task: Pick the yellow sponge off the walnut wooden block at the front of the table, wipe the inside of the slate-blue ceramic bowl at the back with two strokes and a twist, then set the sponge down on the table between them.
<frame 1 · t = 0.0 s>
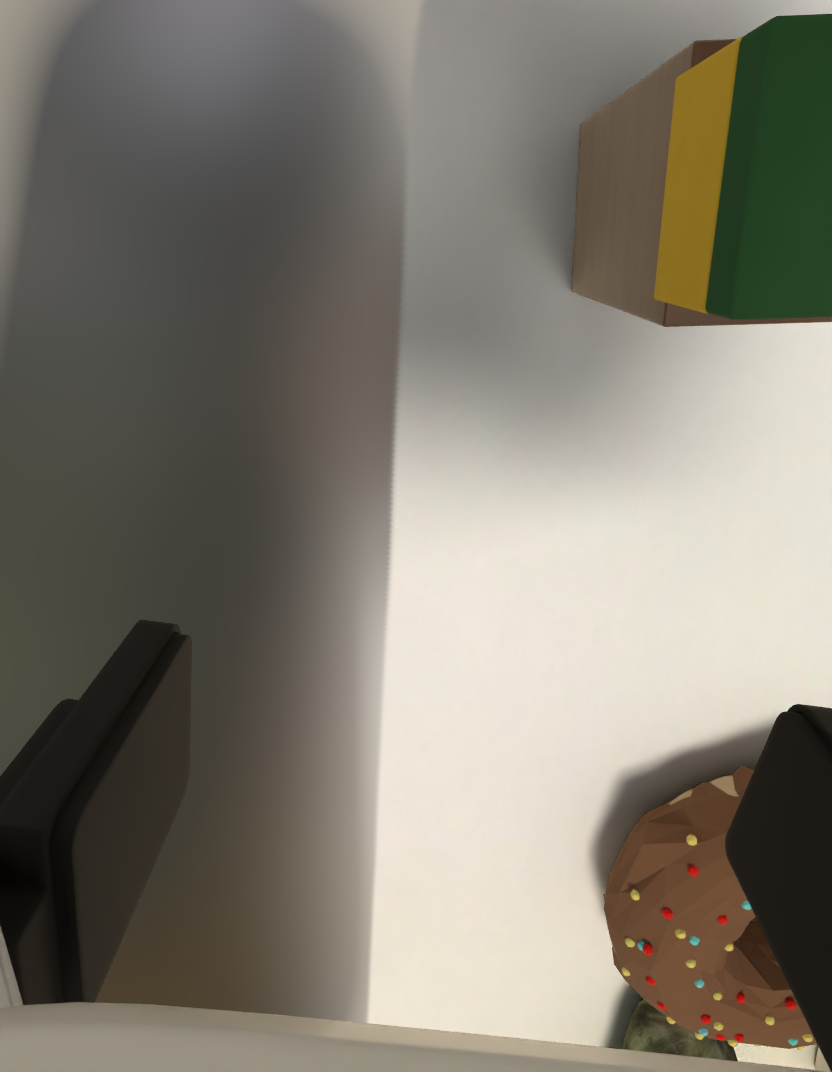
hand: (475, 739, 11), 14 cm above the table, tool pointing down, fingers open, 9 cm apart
donut: (741, 852, 31), on the table
vegetable: (649, 1048, 36), on the table
wooden block: (669, 208, 20), on the table
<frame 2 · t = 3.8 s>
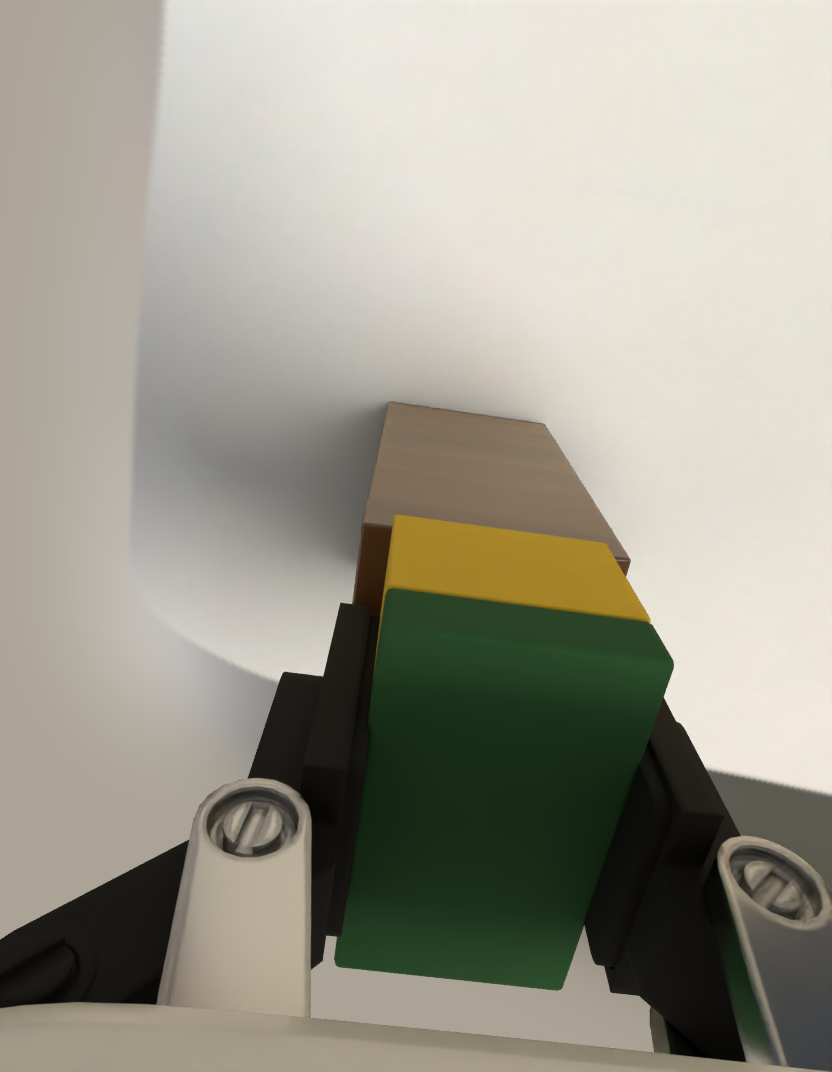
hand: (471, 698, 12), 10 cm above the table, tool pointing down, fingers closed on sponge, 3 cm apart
sponge: (469, 679, 12), point 9 cm above the table, touching gripper, wooden block
wooden block: (451, 502, 21), on the table
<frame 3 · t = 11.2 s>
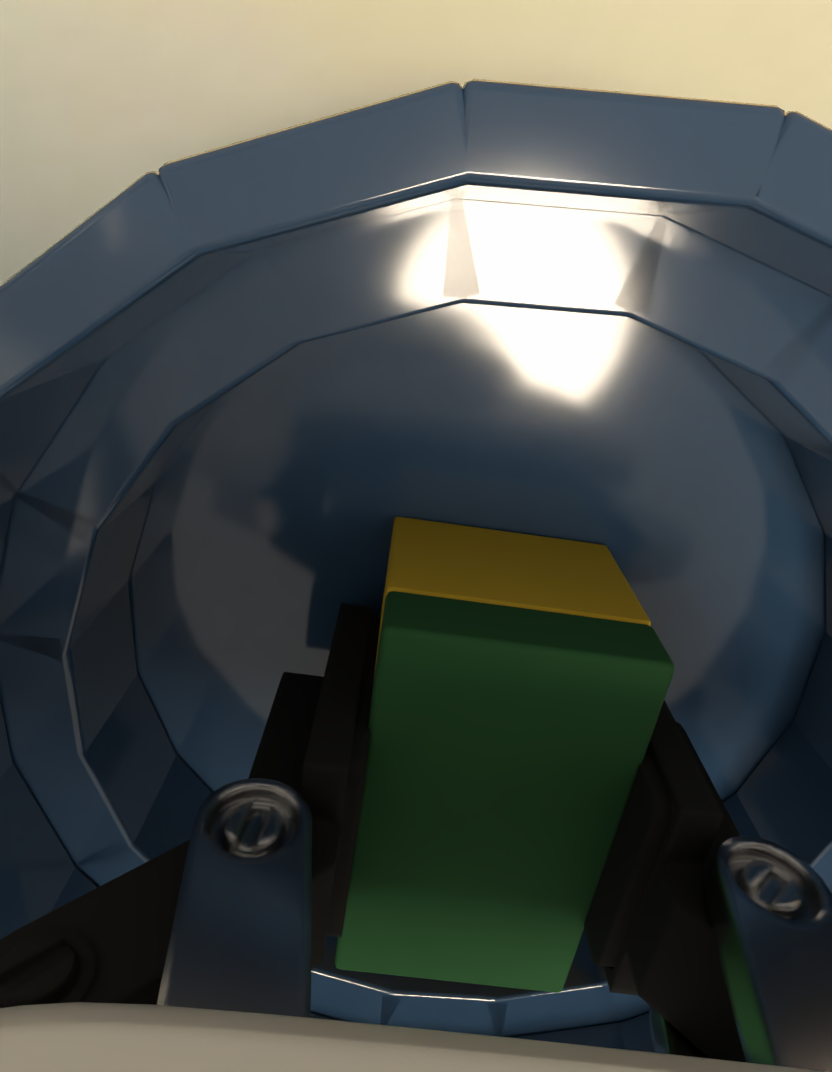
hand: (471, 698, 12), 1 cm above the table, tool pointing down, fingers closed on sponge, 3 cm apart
sponge: (469, 681, 12), point 1 cm above the table, touching gripper
bowl: (472, 633, 13), on the table
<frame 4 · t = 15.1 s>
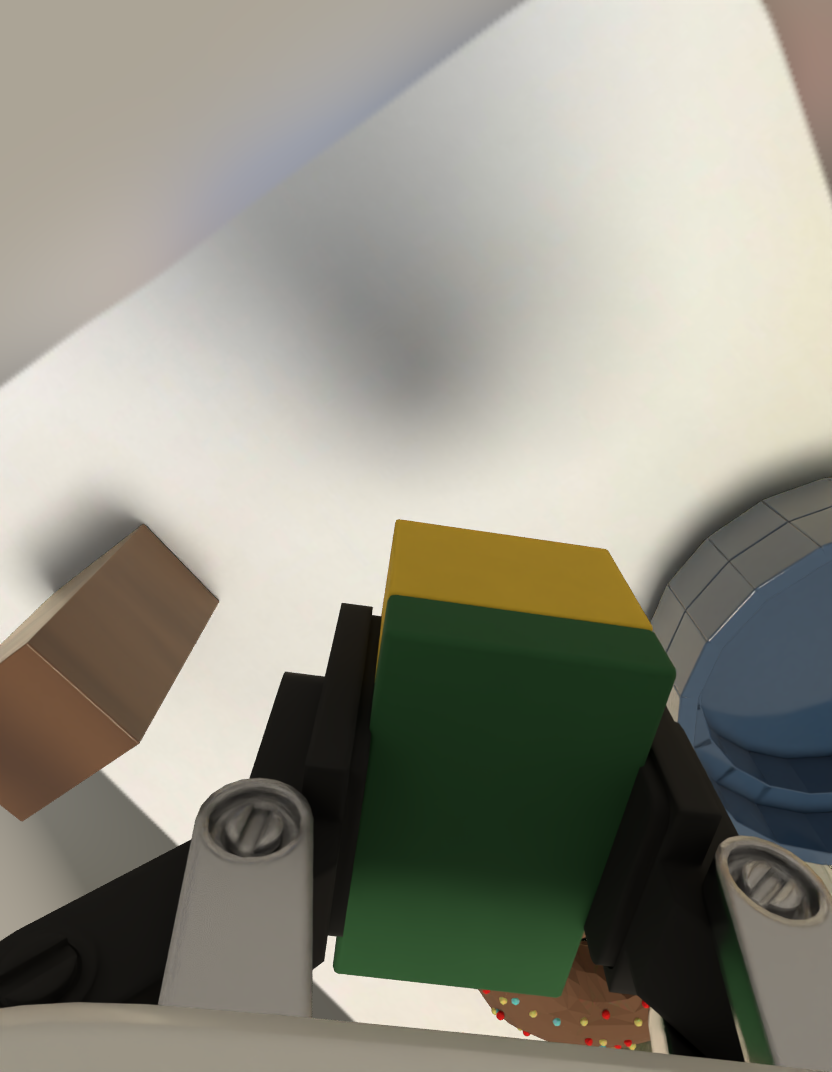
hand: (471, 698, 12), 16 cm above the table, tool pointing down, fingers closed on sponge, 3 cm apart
sponge: (469, 685, 12), point 16 cm above the table, touching gripper
donut: (580, 887, 36), on the table
bowl: (819, 639, 30), on the table
wooden block: (136, 597, 29), on the table
cosmetics box: (810, 929, 37), on the table
when the fingers open (0 cm above the table, at t = 18.4 s): sponge stays where it is, on the table.
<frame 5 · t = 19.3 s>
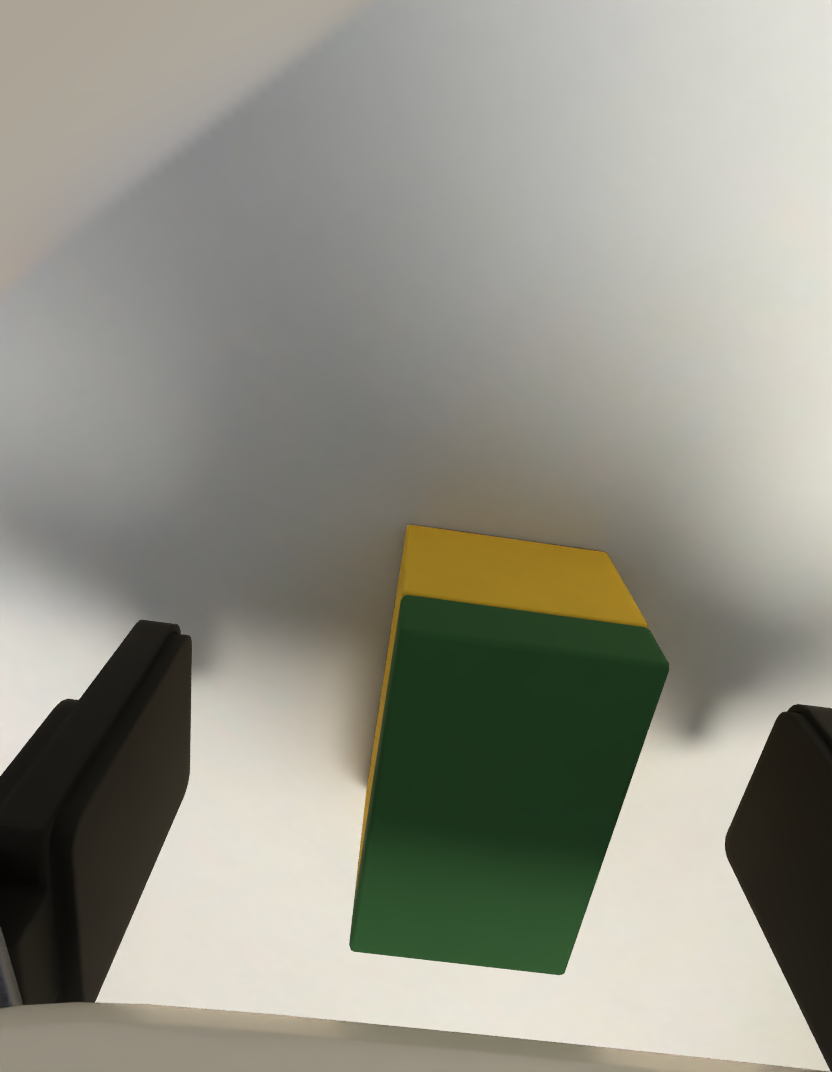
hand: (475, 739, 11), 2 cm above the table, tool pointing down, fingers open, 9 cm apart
sponge: (476, 681, 13), on the table
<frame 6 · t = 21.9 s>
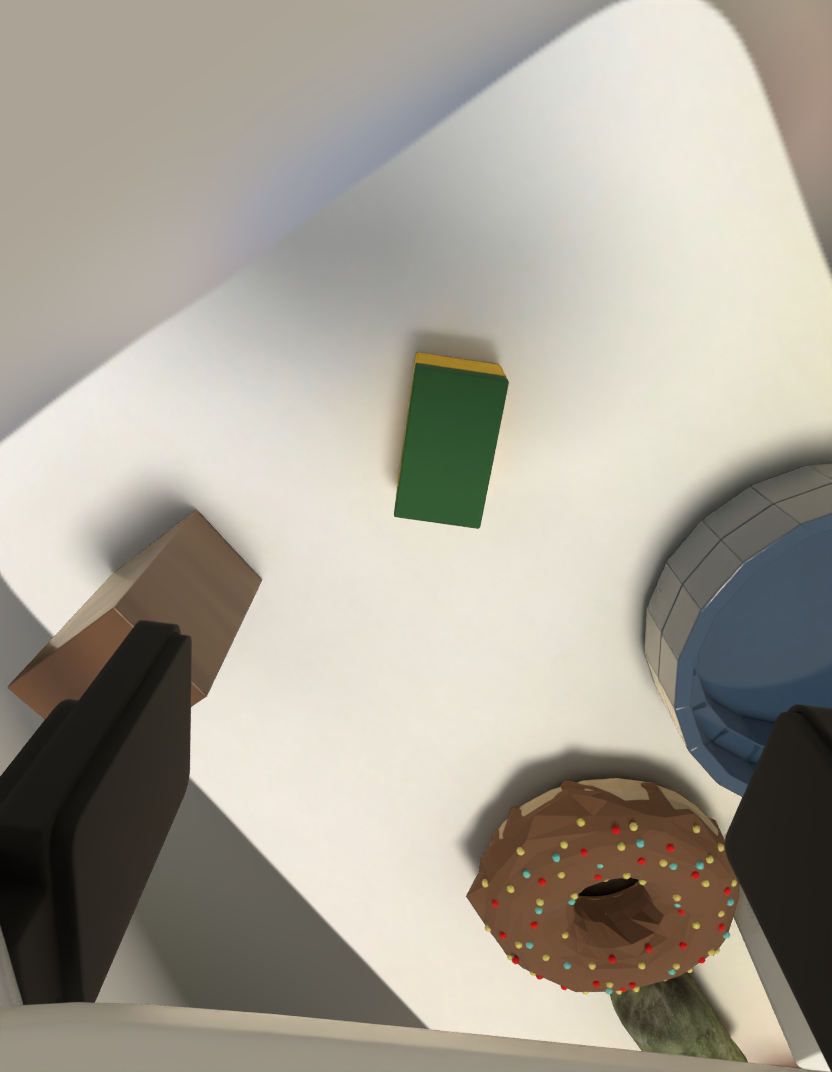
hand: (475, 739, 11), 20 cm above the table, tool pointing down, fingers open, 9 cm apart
sponge: (446, 428, 30), on the table
donut: (588, 845, 39), on the table
vegetable: (666, 993, 44), on the table
bowl: (804, 612, 33), on the table
wooden block: (187, 576, 33), on the table
cosmetics box: (800, 885, 40), on the table
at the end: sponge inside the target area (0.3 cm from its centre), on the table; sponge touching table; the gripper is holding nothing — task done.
